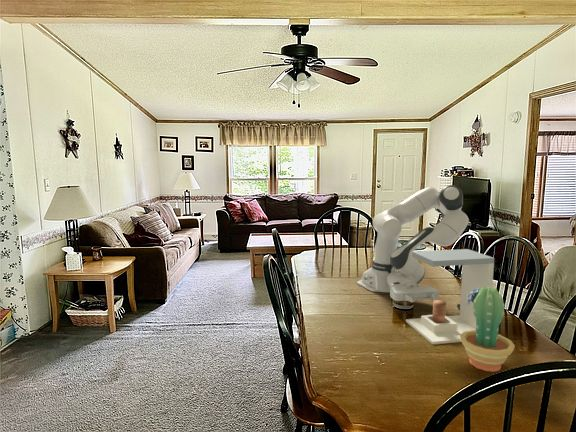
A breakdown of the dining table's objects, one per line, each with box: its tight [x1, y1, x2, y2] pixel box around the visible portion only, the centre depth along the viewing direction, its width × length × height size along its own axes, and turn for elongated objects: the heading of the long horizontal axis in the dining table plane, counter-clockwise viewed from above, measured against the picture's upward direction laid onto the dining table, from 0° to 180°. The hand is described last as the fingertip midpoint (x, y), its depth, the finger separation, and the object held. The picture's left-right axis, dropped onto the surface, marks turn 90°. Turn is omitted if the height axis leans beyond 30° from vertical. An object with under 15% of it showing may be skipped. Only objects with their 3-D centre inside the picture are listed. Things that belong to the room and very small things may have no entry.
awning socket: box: [405, 248, 495, 345], centre depth 141 cm, size 20×24×30 cm
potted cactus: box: [460, 286, 516, 372], centre depth 117 cm, size 15×15×25 cm
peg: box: [432, 299, 447, 324], centre depth 143 cm, size 4×4×10 cm
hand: (423, 299), depth 154 cm, fingers open, 8 cm apart
